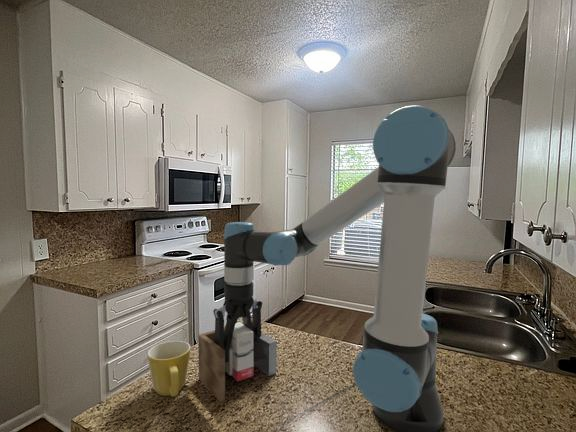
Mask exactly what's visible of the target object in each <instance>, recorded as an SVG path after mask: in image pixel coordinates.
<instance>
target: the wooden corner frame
mask: <svg viewBox="0 0 576 432" xmlns="http://www.w3.org/2000/svg"><path fill="white" fill-rule="evenodd" d="M251 321H252V319H251ZM241 323H242V324H243V325H244V323H243V322H241ZM252 325H253V324H252ZM224 330H225V327H224ZM198 380H199V381H200V383H202V385H203V386H204V387H205V388H206V389H207V390H208V391H209V392H210V393H211V394H212V395H213V396H214V397H215V398H216V399H217V400H218V402H220V403H221V402H224V401H226V372H225V350H224V349H222V348H221V347H220V346H218V345H217V344H216V343H215V329H214V330H212V331H208V332H205V333H200V334H198Z"/></svg>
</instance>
